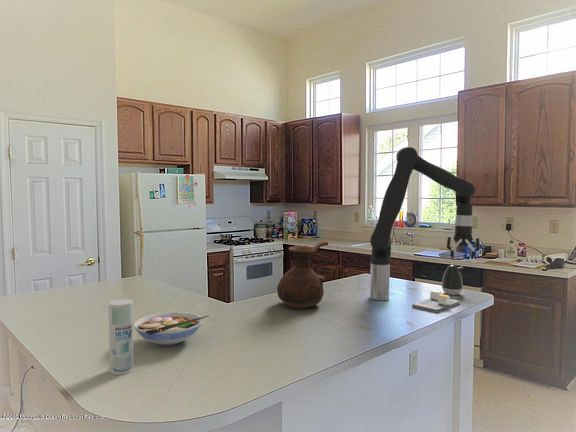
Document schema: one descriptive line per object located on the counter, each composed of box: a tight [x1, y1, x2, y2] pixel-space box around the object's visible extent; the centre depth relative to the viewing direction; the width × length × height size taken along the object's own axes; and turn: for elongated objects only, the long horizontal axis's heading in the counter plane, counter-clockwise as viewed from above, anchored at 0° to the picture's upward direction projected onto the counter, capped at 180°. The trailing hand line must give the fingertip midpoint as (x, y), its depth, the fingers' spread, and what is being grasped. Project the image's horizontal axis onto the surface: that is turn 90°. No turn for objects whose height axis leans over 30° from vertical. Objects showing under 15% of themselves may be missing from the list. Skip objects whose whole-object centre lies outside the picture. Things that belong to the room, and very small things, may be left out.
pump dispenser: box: [441, 264, 464, 296], centre depth 218 cm, size 10×10×15 cm
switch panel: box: [411, 297, 461, 314], centre depth 196 cm, size 22×12×2 cm, turn 133°
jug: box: [276, 239, 329, 310], centre depth 194 cm, size 22×22×30 cm
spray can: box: [108, 299, 134, 376], centre depth 122 cm, size 6×6×20 cm
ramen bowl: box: [133, 311, 210, 347], centre depth 146 cm, size 25×23×8 cm
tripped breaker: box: [438, 293, 451, 305], centre depth 193 cm, size 3×4×4 cm
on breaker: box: [429, 289, 442, 300], centre depth 202 cm, size 3×4×4 cm
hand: (462, 258), depth 201 cm, fingers open, 8 cm apart
